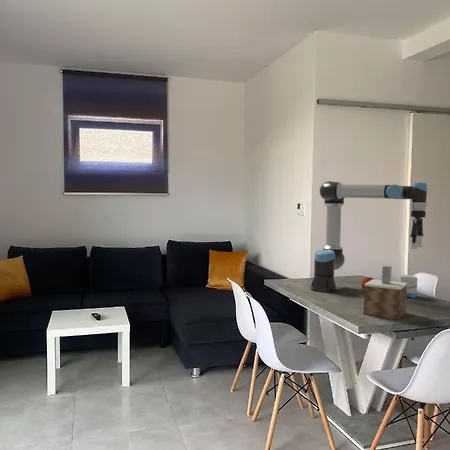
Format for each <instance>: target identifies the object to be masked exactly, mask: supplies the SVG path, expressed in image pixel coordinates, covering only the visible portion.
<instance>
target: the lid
mask: <svg viewBox="0 0 450 450" xmlns="http://www.w3.org/2000/svg"><path fill="white" fill-rule="evenodd" d="M381 276H382V277H381V279H376V278H374V279H373V280H371V281H369V282H367V283H365V286H372V287H380V288H388V289H397V290H401V289H402V288H404V287H405V286H406V285H407V283H403V282H399V281H394V280H392V265H383V266H382V274H381Z"/></svg>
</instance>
